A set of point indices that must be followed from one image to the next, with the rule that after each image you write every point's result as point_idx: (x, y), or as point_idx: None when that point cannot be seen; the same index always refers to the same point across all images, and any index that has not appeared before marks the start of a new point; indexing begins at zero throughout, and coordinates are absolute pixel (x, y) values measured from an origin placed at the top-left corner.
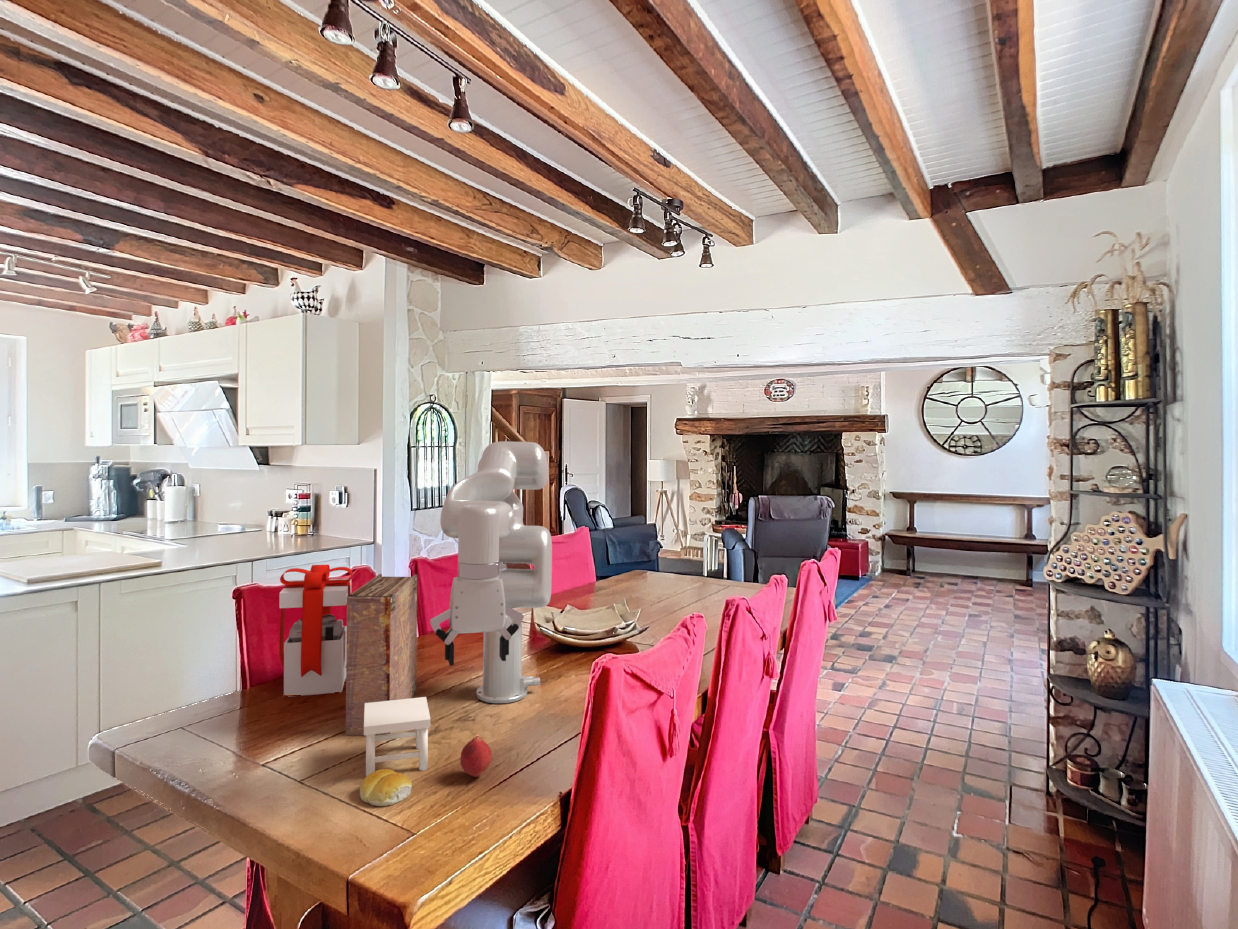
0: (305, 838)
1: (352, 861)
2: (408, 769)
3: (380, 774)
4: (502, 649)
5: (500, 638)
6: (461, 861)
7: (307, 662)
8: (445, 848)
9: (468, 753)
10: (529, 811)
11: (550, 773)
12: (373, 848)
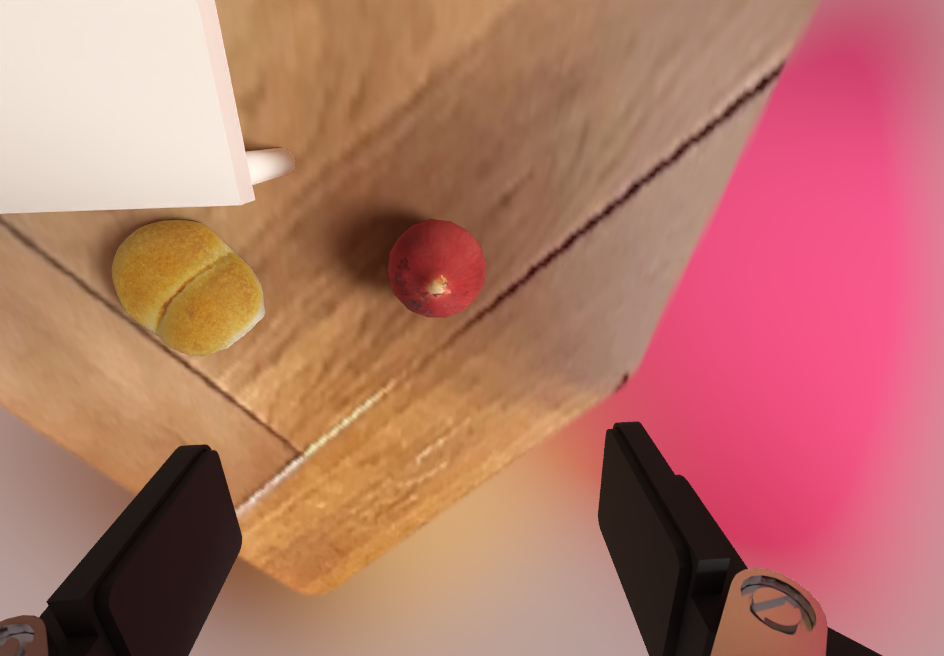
0: (69, 424)
1: None
2: None
3: (154, 294)
4: (629, 602)
5: (672, 599)
6: (390, 539)
7: None
8: (362, 505)
9: (409, 307)
10: (537, 431)
11: (635, 285)
12: None
